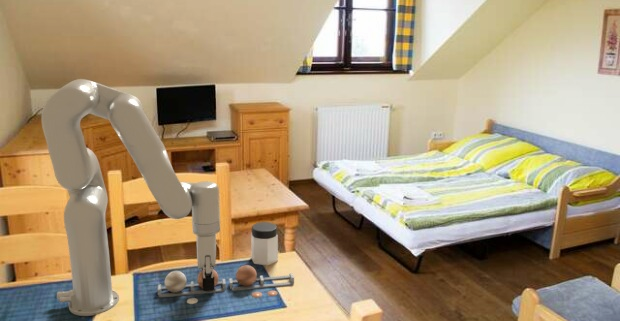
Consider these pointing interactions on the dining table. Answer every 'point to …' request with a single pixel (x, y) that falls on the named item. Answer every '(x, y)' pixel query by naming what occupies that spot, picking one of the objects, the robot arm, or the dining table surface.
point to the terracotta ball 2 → (246, 275)
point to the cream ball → (175, 281)
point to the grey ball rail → (230, 286)
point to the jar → (264, 243)
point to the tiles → (255, 294)
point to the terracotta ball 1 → (200, 280)
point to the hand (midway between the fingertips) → (208, 283)
